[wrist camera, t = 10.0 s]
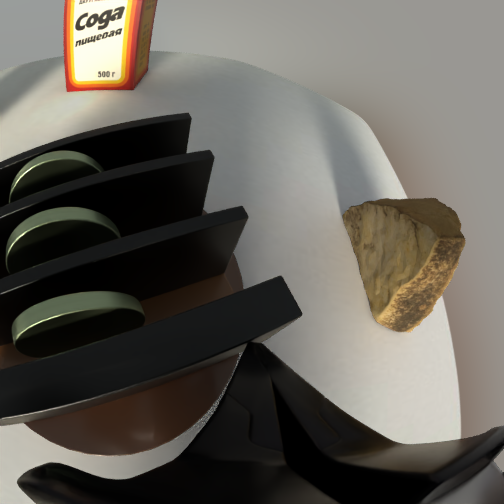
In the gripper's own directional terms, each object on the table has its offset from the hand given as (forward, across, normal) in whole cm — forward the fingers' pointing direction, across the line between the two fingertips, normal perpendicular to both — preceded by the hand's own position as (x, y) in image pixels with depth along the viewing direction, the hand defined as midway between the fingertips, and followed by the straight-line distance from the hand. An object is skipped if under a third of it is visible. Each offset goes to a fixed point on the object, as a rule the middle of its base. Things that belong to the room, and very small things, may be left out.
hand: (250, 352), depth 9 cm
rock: (+11, -12, -1) cm, 16 cm away
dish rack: (+5, +8, +2) cm, 10 cm away
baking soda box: (+25, +20, -16) cm, 36 cm away
